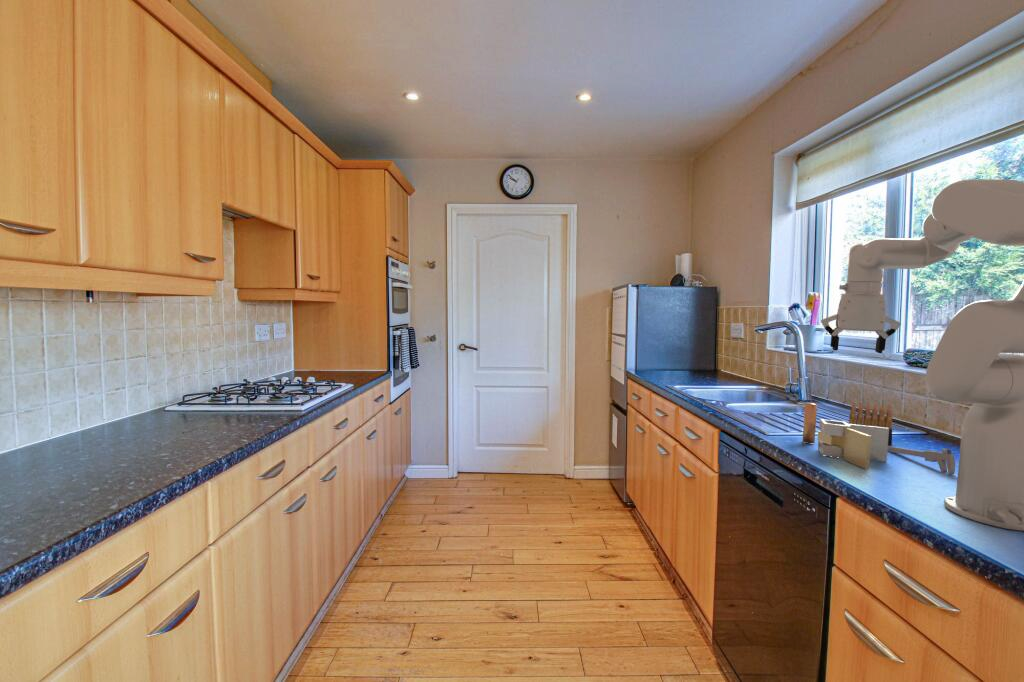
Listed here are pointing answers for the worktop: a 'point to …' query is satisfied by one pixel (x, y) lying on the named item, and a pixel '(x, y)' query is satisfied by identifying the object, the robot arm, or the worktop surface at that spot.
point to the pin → (809, 422)
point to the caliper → (931, 457)
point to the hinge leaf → (851, 446)
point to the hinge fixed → (839, 427)
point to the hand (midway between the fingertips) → (856, 351)
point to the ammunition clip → (872, 418)
